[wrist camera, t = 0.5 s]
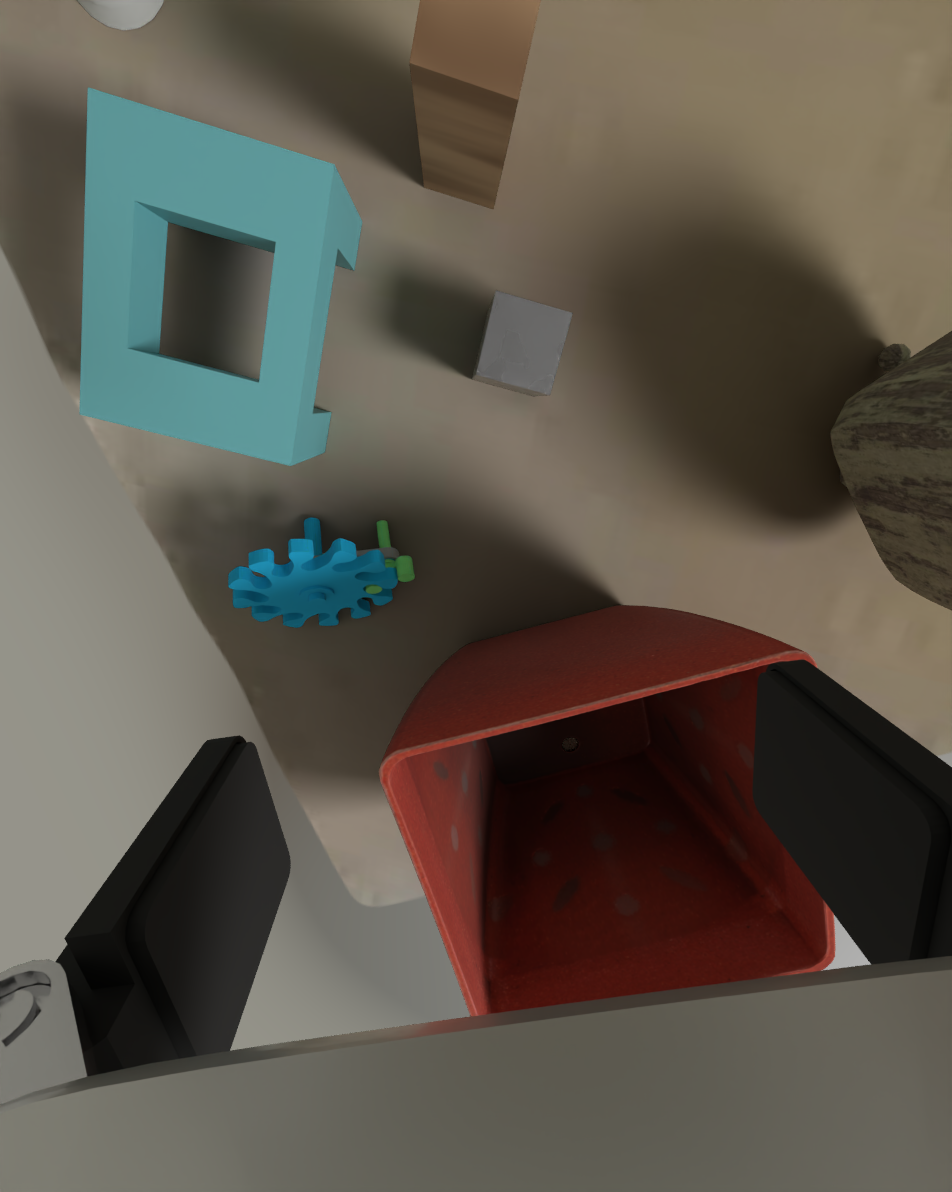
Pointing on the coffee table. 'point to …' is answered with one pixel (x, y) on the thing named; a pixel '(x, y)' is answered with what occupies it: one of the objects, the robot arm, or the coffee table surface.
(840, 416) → the tabletop clock
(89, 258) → the bridge block
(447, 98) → the walnut pin
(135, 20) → the chalice
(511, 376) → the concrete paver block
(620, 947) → the plant pot
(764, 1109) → the robot arm
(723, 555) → the coffee table surface
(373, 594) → the gear
